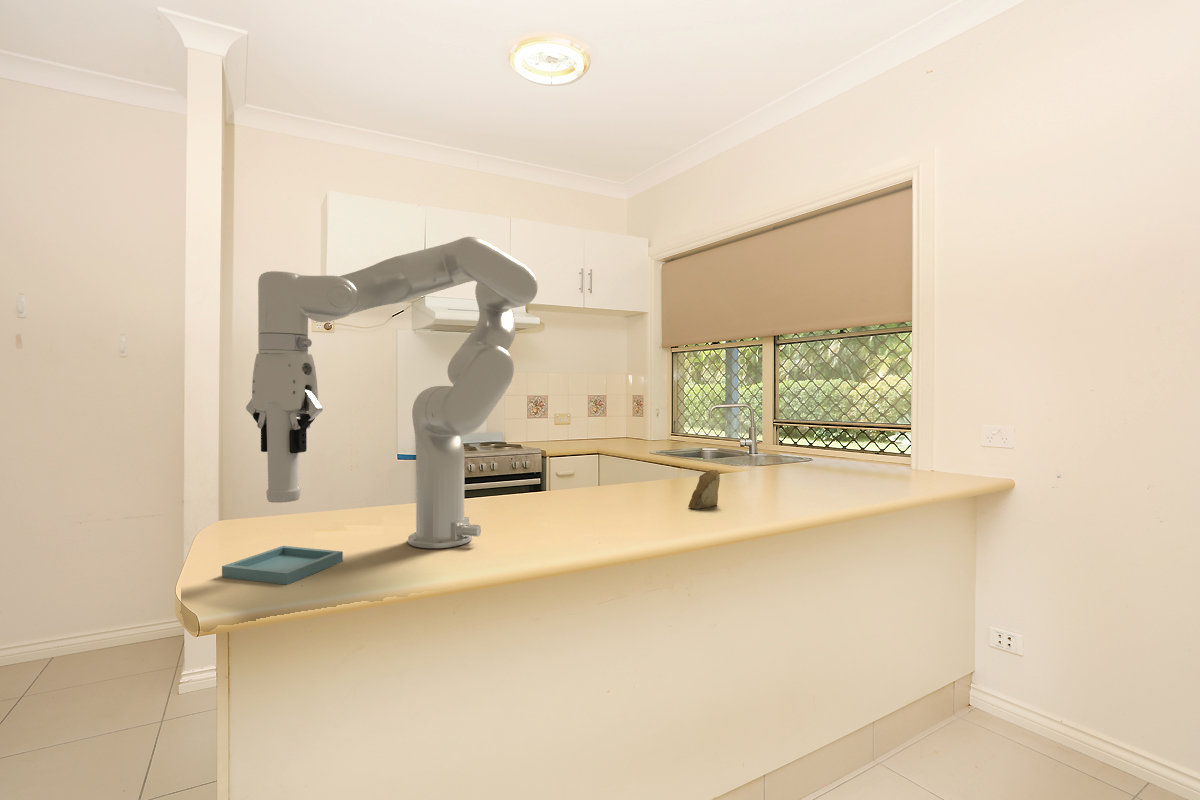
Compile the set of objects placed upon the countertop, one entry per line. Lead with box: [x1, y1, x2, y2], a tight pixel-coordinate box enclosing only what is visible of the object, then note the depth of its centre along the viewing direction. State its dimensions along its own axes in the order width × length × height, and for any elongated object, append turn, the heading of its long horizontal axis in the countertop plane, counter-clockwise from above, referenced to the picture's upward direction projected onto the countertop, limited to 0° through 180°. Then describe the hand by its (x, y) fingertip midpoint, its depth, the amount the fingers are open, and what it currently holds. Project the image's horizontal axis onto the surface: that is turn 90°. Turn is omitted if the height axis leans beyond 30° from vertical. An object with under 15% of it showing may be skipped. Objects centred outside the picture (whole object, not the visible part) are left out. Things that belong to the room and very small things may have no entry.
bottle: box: [266, 402, 301, 504], centre depth 102 cm, size 5×5×25 cm
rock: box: [687, 469, 721, 510], centre depth 159 cm, size 11×9×10 cm
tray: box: [221, 545, 344, 586], centre depth 103 cm, size 13×13×2 cm
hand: (283, 450), depth 102 cm, fingers closed on bottle, 5 cm apart
